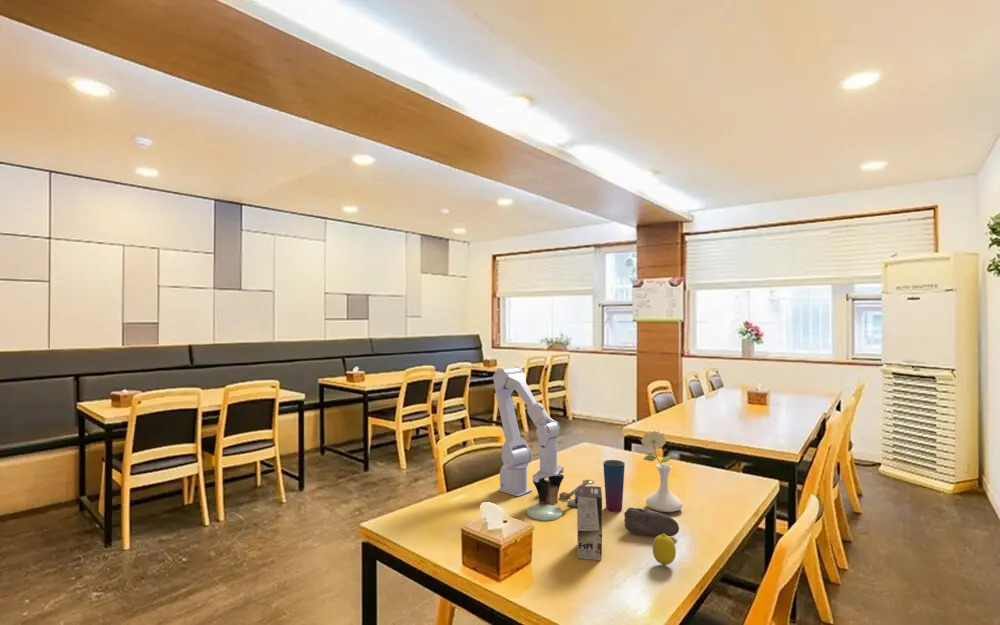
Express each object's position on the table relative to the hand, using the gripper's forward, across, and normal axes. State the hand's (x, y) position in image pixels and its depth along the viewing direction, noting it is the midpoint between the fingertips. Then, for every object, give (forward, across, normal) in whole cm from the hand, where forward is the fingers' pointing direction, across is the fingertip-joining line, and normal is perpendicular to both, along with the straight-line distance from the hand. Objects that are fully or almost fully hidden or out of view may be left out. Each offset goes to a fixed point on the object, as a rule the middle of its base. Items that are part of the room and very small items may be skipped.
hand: (548, 498), depth 173 cm
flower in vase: (+2, +21, -30) cm, 37 cm away
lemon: (+2, -15, -48) cm, 50 cm away
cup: (+2, +10, -19) cm, 22 cm away
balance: (+1, +5, -8) cm, 10 cm away
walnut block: (+2, 0, 0) cm, 2 cm away
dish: (+1, -8, -5) cm, 10 cm away
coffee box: (+2, -21, -30) cm, 37 cm away
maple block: (+2, +7, +5) cm, 9 cm away
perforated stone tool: (+2, 0, -37) cm, 37 cm away
